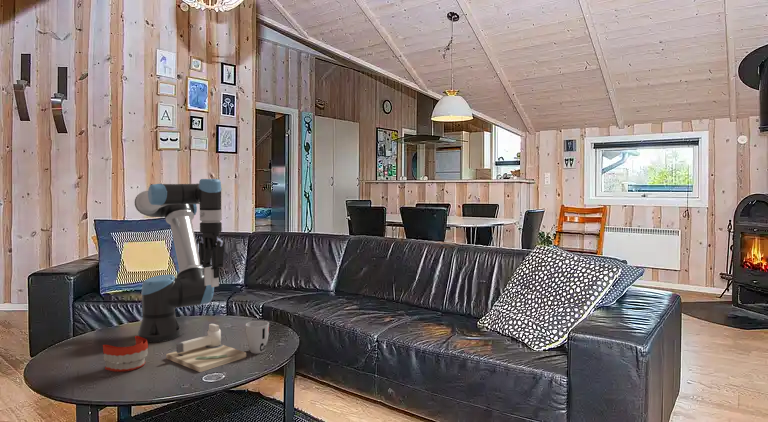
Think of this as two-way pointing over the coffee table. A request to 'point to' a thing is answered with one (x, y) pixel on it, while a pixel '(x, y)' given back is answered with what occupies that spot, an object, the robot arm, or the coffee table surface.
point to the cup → (257, 336)
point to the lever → (202, 340)
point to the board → (206, 357)
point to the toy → (126, 356)
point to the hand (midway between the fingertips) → (211, 285)
